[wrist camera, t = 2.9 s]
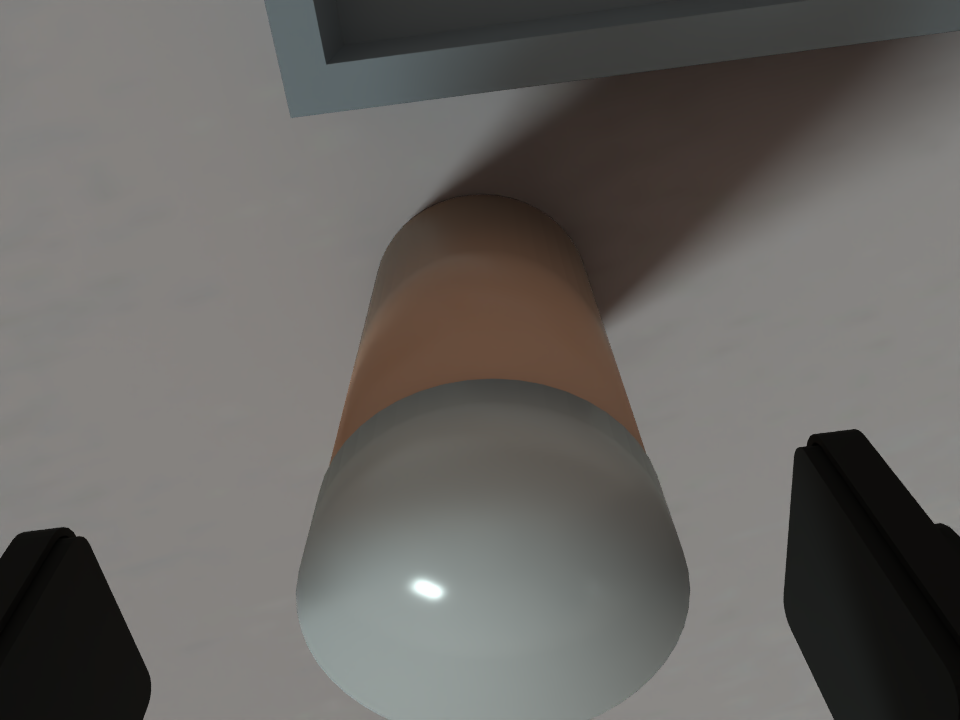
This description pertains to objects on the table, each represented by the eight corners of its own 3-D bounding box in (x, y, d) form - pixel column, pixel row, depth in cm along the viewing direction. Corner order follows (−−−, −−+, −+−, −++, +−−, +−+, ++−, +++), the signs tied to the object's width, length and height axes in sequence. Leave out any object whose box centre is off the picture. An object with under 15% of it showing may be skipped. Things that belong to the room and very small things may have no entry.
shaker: (582, 178, 18) (689, 423, 10) (595, 378, 21) (690, 722, 12) (353, 207, 19) (253, 471, 10) (392, 401, 21) (339, 755, 12)
